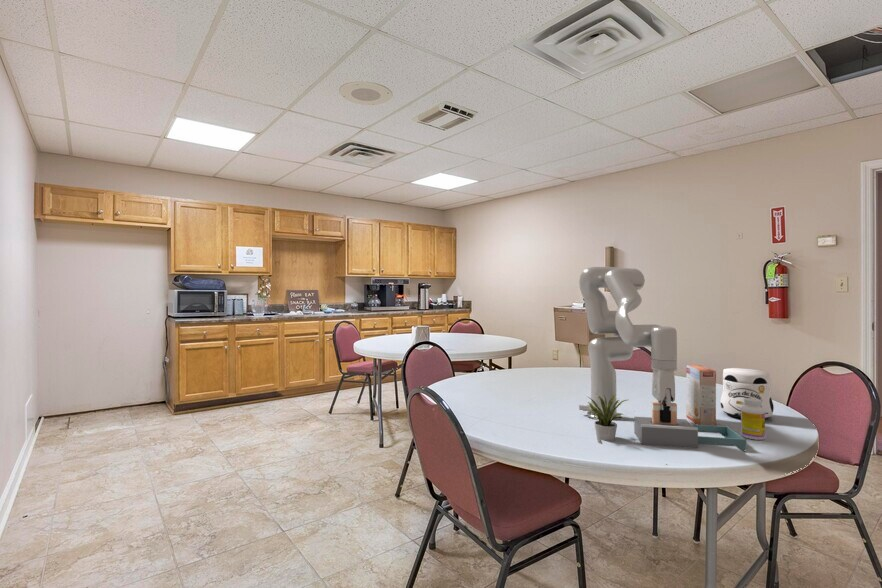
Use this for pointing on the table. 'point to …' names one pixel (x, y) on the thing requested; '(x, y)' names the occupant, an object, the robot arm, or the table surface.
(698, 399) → the cracker box
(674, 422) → the peach slab cream top
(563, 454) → the table surface
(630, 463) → the table surface
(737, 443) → the tray
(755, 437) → the supplement bottle
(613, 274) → the robot arm
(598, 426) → the house plant
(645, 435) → the dispenser
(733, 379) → the milk container
